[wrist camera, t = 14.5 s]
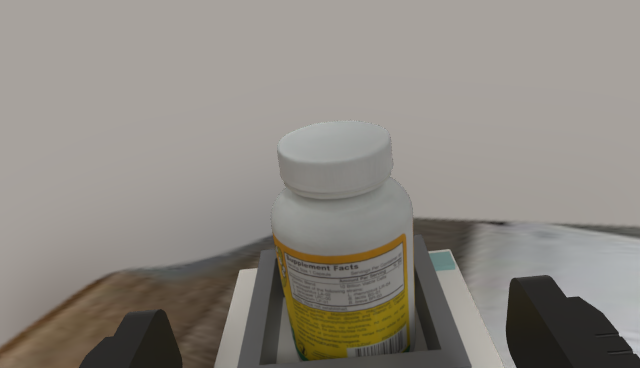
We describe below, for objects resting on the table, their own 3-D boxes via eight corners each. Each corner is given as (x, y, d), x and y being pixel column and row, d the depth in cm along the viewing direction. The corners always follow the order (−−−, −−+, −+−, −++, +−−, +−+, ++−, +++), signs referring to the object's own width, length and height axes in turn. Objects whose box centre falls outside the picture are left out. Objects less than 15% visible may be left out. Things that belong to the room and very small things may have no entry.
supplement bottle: (393, 413, 16) (377, 179, 12) (271, 369, 19) (223, 162, 14) (430, 315, 20) (428, 116, 16) (327, 290, 23) (302, 111, 19)
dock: (449, 263, 25) (450, 210, 24) (547, 485, 14) (560, 414, 13) (243, 283, 26) (230, 233, 24) (187, 510, 15) (159, 445, 13)
